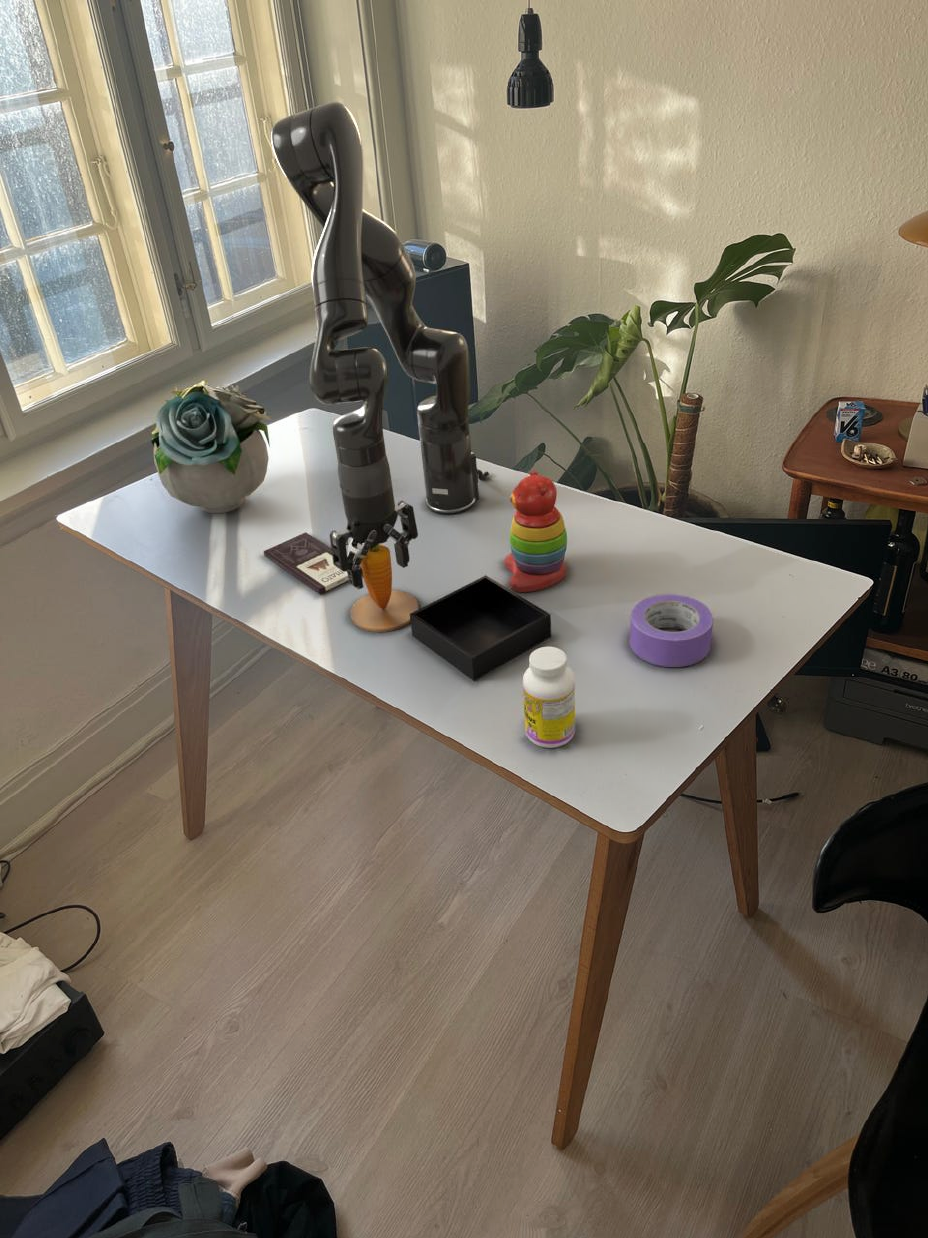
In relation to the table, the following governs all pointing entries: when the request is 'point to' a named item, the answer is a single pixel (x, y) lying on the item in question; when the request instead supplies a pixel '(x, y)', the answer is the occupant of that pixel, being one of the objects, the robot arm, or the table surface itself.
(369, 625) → the disc
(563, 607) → the table surface
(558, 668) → the supplement bottle
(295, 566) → the chocolate bar
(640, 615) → the tape roll
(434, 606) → the tray
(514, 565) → the stacking bear
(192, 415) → the flower arrangement
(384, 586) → the carrot
